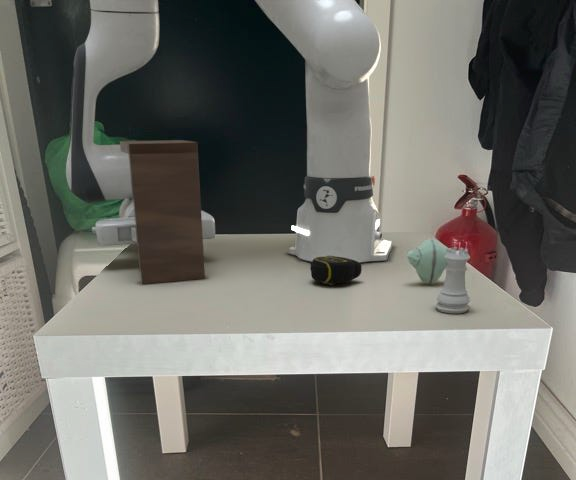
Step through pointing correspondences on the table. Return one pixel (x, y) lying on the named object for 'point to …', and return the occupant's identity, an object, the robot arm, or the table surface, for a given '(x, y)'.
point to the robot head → (428, 260)
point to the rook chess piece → (454, 283)
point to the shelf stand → (166, 209)
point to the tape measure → (334, 269)
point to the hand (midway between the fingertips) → (163, 236)
